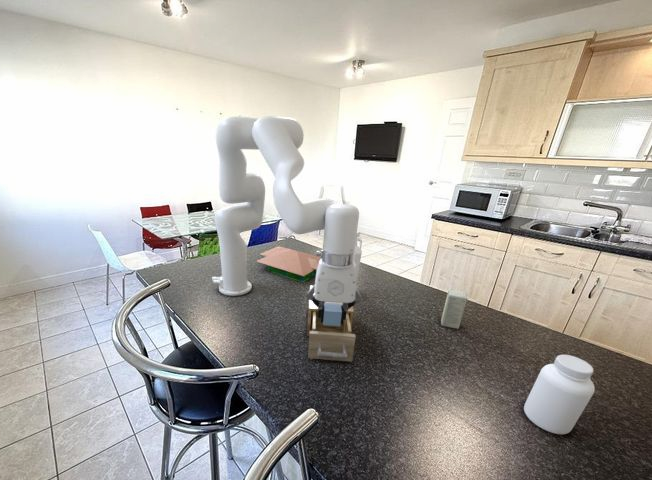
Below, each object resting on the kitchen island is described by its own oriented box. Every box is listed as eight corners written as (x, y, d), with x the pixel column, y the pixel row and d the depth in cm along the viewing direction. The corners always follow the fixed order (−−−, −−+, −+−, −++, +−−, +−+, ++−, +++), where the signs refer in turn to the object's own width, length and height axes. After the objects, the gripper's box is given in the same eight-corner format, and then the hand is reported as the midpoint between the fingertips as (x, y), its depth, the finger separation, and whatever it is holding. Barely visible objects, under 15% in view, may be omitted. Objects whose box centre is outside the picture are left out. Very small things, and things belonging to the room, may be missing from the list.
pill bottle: (513, 404, 65) (538, 350, 59) (546, 402, 66) (574, 349, 60) (544, 437, 58) (577, 379, 52) (581, 434, 59) (618, 377, 53)
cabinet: (350, 339, 86) (353, 311, 82) (306, 336, 87) (308, 308, 83) (345, 313, 99) (348, 287, 95) (308, 310, 100) (309, 285, 96)
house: (309, 285, 118) (310, 266, 114) (248, 265, 135) (247, 248, 132) (335, 267, 135) (337, 251, 131) (278, 252, 152) (278, 237, 149)
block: (323, 325, 77) (324, 310, 75) (322, 316, 81) (324, 302, 79) (340, 326, 76) (341, 312, 74) (339, 317, 80) (340, 303, 78)
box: (458, 322, 95) (467, 292, 91) (458, 329, 92) (468, 298, 87) (440, 318, 97) (448, 288, 92) (440, 325, 94) (448, 294, 89)
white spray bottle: (364, 294, 112) (373, 230, 101) (344, 304, 104) (352, 236, 94) (350, 287, 116) (357, 226, 106) (330, 297, 109) (336, 232, 99)
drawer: (354, 374, 72) (358, 349, 68) (307, 370, 72) (309, 345, 69) (347, 331, 88) (350, 308, 85) (309, 328, 89) (310, 306, 86)
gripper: (302, 260, 68) (299, 326, 76) (376, 264, 67) (365, 331, 74) (303, 249, 75) (300, 311, 83) (370, 253, 74) (361, 315, 81)
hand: (331, 320), depth 78 cm, fingers closed on block, 4 cm apart
